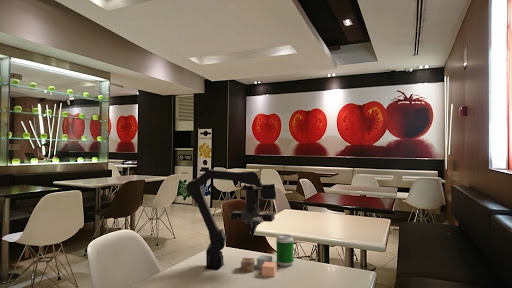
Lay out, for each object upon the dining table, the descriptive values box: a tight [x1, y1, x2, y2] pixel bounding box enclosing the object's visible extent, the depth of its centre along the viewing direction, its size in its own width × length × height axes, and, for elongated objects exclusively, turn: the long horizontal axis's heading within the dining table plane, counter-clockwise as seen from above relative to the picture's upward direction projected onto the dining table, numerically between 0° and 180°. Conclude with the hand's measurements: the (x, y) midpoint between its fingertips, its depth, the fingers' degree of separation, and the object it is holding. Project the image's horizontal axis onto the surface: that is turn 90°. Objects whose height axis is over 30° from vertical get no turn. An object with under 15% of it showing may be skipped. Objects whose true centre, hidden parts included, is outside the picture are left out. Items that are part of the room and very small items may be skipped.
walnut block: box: [240, 257, 255, 273], centre depth 129 cm, size 5×5×4 cm
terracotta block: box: [261, 261, 278, 278], centre depth 124 cm, size 5×5×4 cm
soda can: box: [276, 234, 295, 267], centre depth 134 cm, size 8×8×12 cm
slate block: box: [256, 254, 273, 269], centre depth 132 cm, size 5×5×4 cm
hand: (252, 235), depth 132 cm, fingers closed
